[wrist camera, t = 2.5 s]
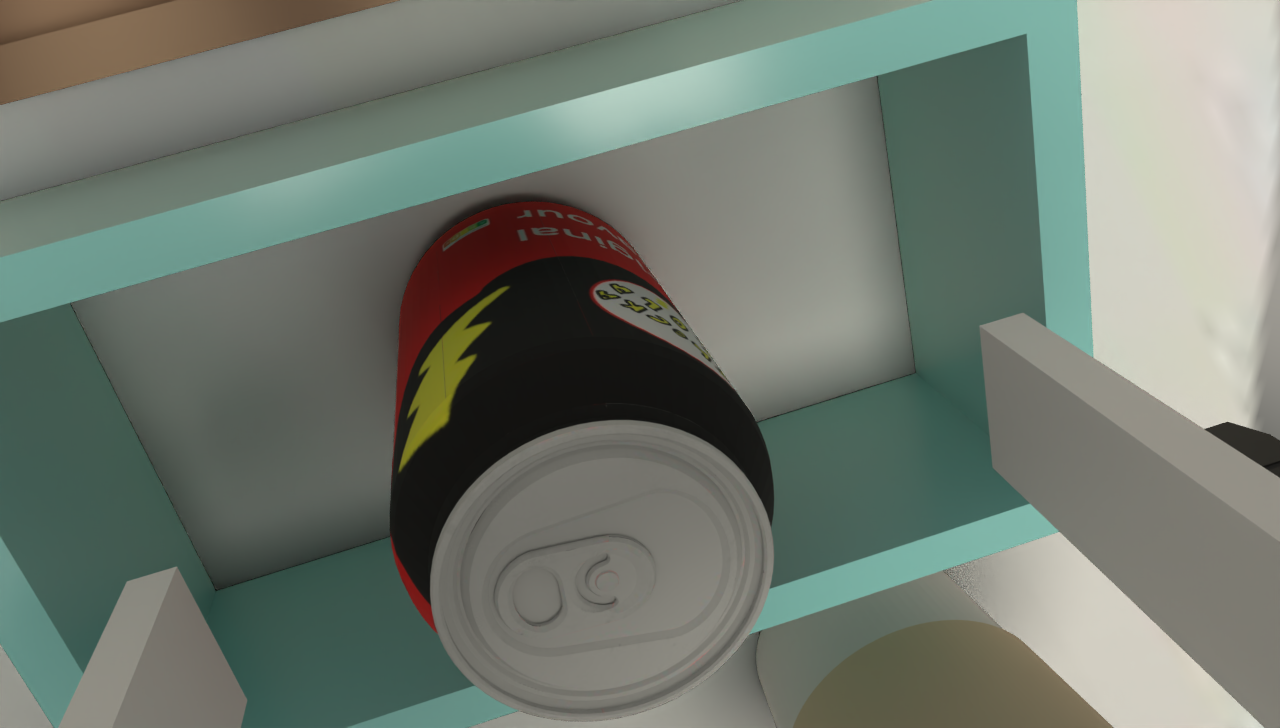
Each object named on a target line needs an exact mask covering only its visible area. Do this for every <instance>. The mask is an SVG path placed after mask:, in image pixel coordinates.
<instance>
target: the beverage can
mask: <svg viewBox="0 0 1280 728" xmlns="http://www.w3.org/2000/svg"><path fill="white" fill-rule="evenodd" d="M773 514H774V483H773V475H772V469H771V463H770V457H769V454H768V450H767V447H766V443H765V441H764V438H763V436H762V433H761V431H760V428H759V426H758V425H757V423H756V421H755V419H754V417H753V415H752V414H751V412H750V411H749V409H748V408H747V406H746V405H745V404H744V402H743V401H742V399H741V398H740V397H739V395H738V394H737V392H736V391H735V390H734V388H733V387H732V385H731V384H730V383H729V381H728V380H727V378H726V377H725V376H724V374H723V373H722V371H721V370H720V369H719V367H718V366H717V364H716V363H715V362H714V360H713V359H712V357H711V356H710V355H709V353H708V352H707V350H706V349H705V348H704V346H703V345H702V343H701V342H700V341H699V339H698V338H697V336H696V335H695V334H694V332H693V331H692V329H691V328H690V327H689V325H688V324H687V322H686V321H685V320H684V318H683V317H682V315H681V314H680V313H679V311H678V310H677V308H676V307H675V306H674V304H673V303H672V301H671V300H670V299H669V297H668V296H667V294H666V293H665V292H664V290H663V289H662V287H661V286H660V285H659V283H658V282H657V280H656V279H655V278H654V276H653V275H652V273H651V272H650V271H649V269H648V268H647V266H646V265H645V264H644V262H643V261H642V259H641V258H640V257H639V255H638V254H637V252H636V251H635V250H634V248H633V247H632V246H631V245H630V244H629V243H628V241H627V240H626V239H625V238H624V237H623V236H621V235H620V234H619V233H618V232H617V231H616V230H615V229H613V228H612V227H611V226H609V225H608V224H607V223H605V222H603V221H602V220H600V219H598V218H597V217H595V216H593V215H590V214H588V213H586V212H584V211H581V210H578V209H576V208H573V207H569V206H565V205H561V204H556V203H549V202H517V203H511V204H505V205H501V206H497V207H493V208H490V209H487V210H484V211H481V212H479V213H477V214H475V215H473V216H470V217H468V218H467V219H465V220H463V221H462V222H460V223H458V224H457V225H455V226H454V227H452V228H451V229H450V230H448V231H447V232H446V233H445V234H443V235H442V236H441V237H440V238H439V239H438V240H437V241H436V242H435V243H434V244H433V245H432V246H431V247H430V248H429V249H428V251H427V252H426V253H425V255H424V256H423V257H422V259H421V260H420V261H419V263H418V265H417V266H416V268H415V270H414V271H413V273H412V275H411V278H410V280H409V282H408V284H407V287H406V290H405V293H404V296H403V301H402V305H401V311H400V319H399V338H398V359H397V379H396V399H395V419H394V440H393V460H392V480H391V501H390V536H391V545H392V550H393V555H394V559H395V563H396V566H397V569H398V571H399V574H400V577H401V580H402V582H403V584H404V586H405V588H406V590H407V592H408V594H409V596H410V598H411V600H412V602H413V603H414V605H415V606H416V608H417V610H418V611H419V613H420V614H421V616H422V617H423V618H424V619H425V621H426V622H427V623H428V624H429V625H430V627H431V628H432V629H433V630H434V631H435V632H436V633H437V634H438V635H439V638H440V640H441V642H442V644H443V646H444V648H445V650H446V652H447V654H448V655H449V657H450V658H451V660H452V661H453V663H454V664H455V665H456V666H457V668H458V669H459V670H460V671H461V672H462V674H463V675H464V676H465V677H466V678H467V679H468V680H469V681H471V682H472V683H473V684H474V685H475V686H476V687H478V688H479V689H480V690H481V691H483V692H484V693H485V694H487V695H489V696H490V697H492V698H494V699H495V700H497V701H499V702H501V703H503V704H505V705H507V706H509V707H511V708H513V709H516V710H519V711H521V712H524V713H527V714H531V715H535V716H538V717H543V718H548V719H554V720H563V721H601V720H608V719H615V718H621V717H625V716H630V715H634V714H637V713H641V712H644V711H647V710H650V709H653V708H655V707H658V706H660V705H663V704H665V703H667V702H669V701H671V700H673V699H676V698H678V697H679V696H681V695H683V694H685V693H686V692H688V691H690V690H692V689H693V688H695V687H696V686H697V685H699V684H700V683H702V682H703V681H705V680H706V679H707V678H709V677H710V676H711V675H712V674H713V673H715V672H716V671H717V670H718V669H719V668H720V667H721V666H722V665H723V664H725V663H726V662H727V661H728V660H729V659H730V657H731V656H732V655H733V654H734V653H735V652H736V651H737V650H738V649H739V647H740V646H741V645H742V643H743V642H744V641H745V639H746V638H747V637H748V635H749V633H750V632H751V630H752V628H753V627H754V625H755V624H756V622H757V620H758V618H759V616H760V614H761V612H762V609H763V607H764V604H765V601H766V599H767V596H768V592H769V589H770V585H771V580H772V574H773V565H774V545H773V537H772V531H771V527H772V521H773Z"/></svg>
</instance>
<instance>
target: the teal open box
mask: <svg viewBox="0 0 1280 728" xmlns="http://www.w3.org/2000/svg"><path fill="white" fill-rule="evenodd" d="M874 76H878V84H879V92H880V99H881V107H882V115H883V122H884V130H885V138H886V145H887V153H888V161H889V169H890V176H891V184H892V192H893V199H894V207H895V215H896V222H897V230H898V238H899V246H900V253H901V261H902V269H903V276H904V284H905V292H906V299H907V307H908V315H909V323H910V330H911V338H912V346H913V353H914V361H915V369H916V373H915V374H912V375H909V376H905V377H902V378H899V379H896V380H892V381H889V382H886V383H883V384H880V385H876V386H873V387H870V388H867V389H864V390H860V391H857V392H854V393H851V394H847V395H844V396H841V397H838V398H835V399H831V400H828V401H825V402H822V403H819V404H815V405H812V406H809V407H806V408H802V409H799V410H796V411H793V412H790V413H786V414H783V415H780V416H777V417H774V418H770V419H767V420H764V421H761V422H758V423H757V425H758V426H759V428H760V431H761V433H762V436H763V438H764V441H765V443H766V447H767V450H768V454H769V457H770V463H771V469H772V475H773V483H774V514H773V521H772V527H771V531H772V537H773V545H774V565H773V574H772V580H771V585H770V589H769V592H768V596H767V599H766V601H765V604H764V607H763V609H762V612H761V614H760V616H759V618H758V620H757V622H756V624H755V625H754V627H753V628H752V630H751V632H750V633H749V634H752V633H755V632H758V631H761V630H764V629H767V628H770V627H773V626H776V625H779V624H782V623H785V622H788V621H791V620H794V619H797V618H800V617H803V616H806V615H809V614H813V613H816V612H819V611H822V610H825V609H828V608H831V607H834V606H837V605H840V604H843V603H846V602H849V601H852V600H855V599H858V598H861V597H864V596H867V595H870V594H873V593H876V592H879V591H882V590H885V589H888V588H891V587H894V586H897V585H900V584H903V583H906V582H909V581H912V580H915V579H918V578H921V577H924V576H927V575H930V574H933V573H936V572H939V571H942V570H945V569H948V568H951V567H954V566H957V565H960V564H963V563H967V562H970V561H973V560H976V559H979V558H982V557H985V556H988V555H991V554H994V553H997V552H1000V551H1003V550H1006V549H1009V548H1012V547H1015V546H1018V545H1021V544H1024V543H1027V542H1030V541H1033V540H1036V539H1039V538H1042V537H1045V536H1048V535H1051V534H1054V533H1057V532H1059V531H1058V530H1057V529H1056V528H1055V527H1054V526H1053V525H1052V524H1051V523H1050V522H1049V521H1048V520H1047V519H1046V518H1045V517H1044V516H1043V515H1042V514H1041V513H1039V512H1038V511H1037V510H1036V509H1035V508H1034V507H1033V506H1032V505H1031V504H1030V503H1029V502H1028V501H1027V500H1026V499H1025V498H1024V497H1023V496H1022V495H1021V494H1020V493H1019V492H1017V491H1016V490H1015V489H1014V488H1013V487H1012V486H1011V485H1010V484H1009V483H1008V482H1007V481H1006V480H1005V479H1004V478H1003V477H1002V476H1001V475H1000V474H999V473H998V472H997V471H996V470H994V469H993V466H992V455H991V445H990V434H989V424H988V413H987V402H986V392H985V381H984V370H983V360H982V349H981V339H980V328H979V326H980V325H984V324H987V323H990V322H994V321H997V320H1000V319H1004V318H1007V317H1010V316H1014V315H1017V314H1020V313H1024V314H1026V315H1028V316H1029V317H1031V318H1032V319H1034V320H1035V321H1037V322H1038V323H1040V324H1042V325H1043V326H1045V327H1046V328H1048V329H1049V330H1051V331H1052V332H1054V333H1056V334H1057V335H1059V336H1060V337H1062V338H1063V339H1065V340H1066V341H1068V342H1069V343H1071V344H1073V345H1074V346H1076V347H1077V348H1079V349H1080V350H1082V351H1083V352H1085V353H1087V354H1088V355H1090V356H1091V357H1093V338H1092V317H1091V295H1090V274H1089V253H1088V231H1087V210H1086V188H1085V167H1084V146H1083V124H1082V103H1081V81H1080V60H1079V39H1078V17H1077V0H743V1H739V2H735V3H731V4H728V5H724V6H720V7H717V8H713V9H709V10H706V11H702V12H698V13H694V14H691V15H687V16H683V17H680V18H676V19H672V20H669V21H665V22H661V23H658V24H654V25H650V26H646V27H643V28H639V29H635V30H632V31H628V32H624V33H621V34H617V35H613V36H610V37H606V38H602V39H598V40H595V41H591V42H587V43H584V44H580V45H576V46H573V47H569V48H565V49H562V50H558V51H554V52H550V53H547V54H543V55H539V56H536V57H532V58H528V59H525V60H521V61H517V62H513V63H510V64H506V65H502V66H499V67H495V68H491V69H488V70H484V71H480V72H477V73H473V74H469V75H465V76H462V77H458V78H454V79H451V80H447V81H443V82H440V83H436V84H432V85H429V86H425V87H421V88H417V89H414V90H410V91H406V92H403V93H399V94H395V95H392V96H388V97H384V98H381V99H377V100H373V101H369V102H366V103H362V104H358V105H355V106H351V107H347V108H344V109H340V110H336V111H332V112H329V113H325V114H321V115H318V116H314V117H310V118H307V119H303V120H299V121H296V122H292V123H288V124H284V125H281V126H277V127H273V128H270V129H266V130H262V131H259V132H255V133H251V134H248V135H244V136H240V137H236V138H233V139H229V140H225V141H222V142H218V143H214V144H211V145H207V146H203V147H200V148H196V149H192V150H188V151H185V152H181V153H177V154H174V155H170V156H166V157H163V158H159V159H155V160H151V161H148V162H144V163H140V164H137V165H133V166H129V167H126V168H122V169H118V170H115V171H111V172H107V173H103V174H100V175H96V176H92V177H89V178H85V179H81V180H78V181H74V182H70V183H67V184H63V185H59V186H55V187H52V188H48V189H44V190H41V191H37V192H33V193H30V194H26V195H22V196H19V197H15V198H11V199H7V200H4V201H0V644H1V646H2V647H3V649H4V650H5V652H6V654H7V655H8V657H9V658H10V660H11V661H12V663H13V665H14V666H15V668H16V669H17V671H18V672H19V674H20V676H21V677H22V679H23V680H24V682H25V683H26V685H27V687H28V688H29V690H30V691H31V693H32V694H33V696H34V697H35V699H36V701H37V702H38V704H39V705H40V707H41V708H42V710H43V712H44V713H45V715H46V716H47V718H48V719H49V721H50V723H51V724H52V726H53V727H54V728H58V727H59V725H60V723H61V721H62V718H63V716H64V714H65V712H66V710H67V708H68V706H69V704H70V701H71V699H72V697H73V695H74V693H75V691H76V689H77V687H78V684H79V682H80V680H81V678H82V676H83V674H84V672H85V670H86V667H87V665H88V663H89V661H90V659H91V657H92V655H93V653H94V650H95V648H96V646H97V644H98V642H99V640H100V638H101V635H102V633H103V631H104V629H105V627H106V625H107V623H108V621H109V618H110V616H111V614H112V612H113V610H114V608H115V606H116V604H117V601H118V599H119V597H120V595H121V593H122V591H123V589H124V587H125V584H126V582H127V581H130V580H133V579H137V578H140V577H143V576H147V575H150V574H153V573H157V572H160V571H163V570H167V569H170V568H173V567H178V569H179V571H180V573H181V575H182V577H183V579H184V581H185V583H186V585H187V586H188V588H189V590H190V592H191V594H192V596H193V598H194V600H195V602H196V604H197V605H198V607H199V609H200V611H201V613H202V615H203V617H204V619H205V621H206V623H207V624H208V626H209V628H210V630H211V632H212V634H213V636H214V638H215V640H216V641H217V643H218V645H219V647H220V649H221V651H222V653H223V655H224V657H225V659H226V660H227V662H228V664H229V666H230V668H231V670H232V672H233V674H234V676H235V678H236V679H237V681H238V683H239V685H240V687H241V689H242V691H243V693H244V695H245V697H246V698H247V704H246V708H245V712H244V716H243V721H242V725H241V728H468V727H471V726H474V725H477V724H480V723H483V722H486V721H489V720H492V719H495V718H498V717H501V716H504V715H508V714H511V713H514V712H517V711H519V710H516V709H513V708H511V707H509V706H507V705H505V704H503V703H501V702H499V701H497V700H495V699H494V698H492V697H490V696H489V695H487V694H485V693H484V692H483V691H481V690H480V689H479V688H478V687H476V686H475V685H474V684H473V683H472V682H471V681H469V680H468V679H467V678H466V677H465V676H464V675H463V674H462V672H461V671H460V670H459V669H458V668H457V666H456V665H455V664H454V663H453V661H452V660H451V658H450V657H449V655H448V654H447V652H446V650H445V648H444V646H443V644H442V642H441V640H440V638H439V635H438V634H437V633H436V632H435V631H434V630H433V629H432V628H431V627H430V625H429V624H428V623H427V622H426V621H425V619H424V618H423V617H422V616H421V614H420V613H419V611H418V610H417V608H416V606H415V605H414V603H413V602H412V600H411V598H410V596H409V594H408V592H407V590H406V588H405V586H404V584H403V582H402V580H401V577H400V574H399V571H398V569H397V566H396V563H395V559H394V555H393V550H392V545H391V537H388V538H385V539H382V540H378V541H375V542H372V543H369V544H366V545H362V546H359V547H356V548H353V549H349V550H346V551H343V552H340V553H337V554H333V555H330V556H327V557H324V558H321V559H317V560H314V561H311V562H308V563H305V564H301V565H298V566H295V567H292V568H288V569H285V570H282V571H279V572H276V573H272V574H269V575H266V576H263V577H260V578H256V579H253V580H250V581H247V582H243V583H240V584H237V585H234V586H231V587H227V588H224V589H221V590H218V591H216V590H215V588H214V586H213V584H212V582H211V580H210V578H209V576H208V574H207V572H206V570H205V568H204V566H203V565H202V563H201V561H200V559H199V557H198V555H197V553H196V551H195V549H194V547H193V545H192V543H191V541H190V539H189V537H188V535H187V533H186V531H185V529H184V527H183V525H182V523H181V521H180V519H179V517H178V515H177V513H176V511H175V509H174V507H173V505H172V504H171V502H170V500H169V498H168V496H167V494H166V492H165V490H164V488H163V486H162V484H161V482H160V480H159V478H158V476H157V474H156V472H155V470H154V468H153V466H152V464H151V462H150V460H149V458H148V456H147V454H146V452H145V450H144V448H143V446H142V445H141V443H140V441H139V439H138V437H137V435H136V433H135V431H134V429H133V427H132V425H131V423H130V421H129V419H128V417H127V415H126V413H125V411H124V409H123V407H122V405H121V403H120V401H119V399H118V397H117V395H116V393H115V391H114V389H113V387H112V385H111V384H110V382H109V380H108V378H107V376H106V374H105V372H104V370H103V368H102V366H101V364H100V362H99V360H98V358H97V356H96V354H95V352H94V350H93V348H92V346H91V344H90V342H89V340H88V338H87V336H86V334H85V332H84V330H83V328H82V326H81V325H80V323H79V321H78V319H77V317H76V315H75V313H74V311H73V309H72V307H71V305H70V303H71V302H75V301H78V300H82V299H85V298H89V297H92V296H96V295H99V294H103V293H107V292H110V291H114V290H117V289H121V288H124V287H128V286H131V285H135V284H139V283H142V282H146V281H149V280H153V279H156V278H160V277H163V276H167V275H171V274H174V273H178V272H181V271H185V270H188V269H192V268H195V267H199V266H202V265H206V264H210V263H213V262H217V261H220V260H224V259H227V258H231V257H234V256H238V255H242V254H245V253H249V252H252V251H256V250H259V249H263V248H266V247H270V246H274V245H277V244H281V243H284V242H288V241H291V240H295V239H298V238H302V237H306V236H309V235H313V234H316V233H320V232H323V231H327V230H330V229H334V228H338V227H341V226H345V225H348V224H352V223H355V222H359V221H362V220H366V219H369V218H373V217H377V216H380V215H384V214H387V213H391V212H394V211H398V210H401V209H405V208H409V207H412V206H416V205H419V204H423V203H426V202H430V201H433V200H437V199H441V198H444V197H448V196H451V195H455V194H458V193H462V192H465V191H469V190H473V189H476V188H480V187H483V186H487V185H490V184H494V183H497V182H501V181H504V180H508V179H512V178H515V177H519V176H522V175H526V174H529V173H533V172H536V171H540V170H544V169H547V168H551V167H554V166H558V165H561V164H565V163H568V162H572V161H576V160H579V159H583V158H586V157H590V156H593V155H597V154H600V153H604V152H608V151H611V150H615V149H618V148H622V147H625V146H629V145H632V144H636V143H640V142H643V141H647V140H650V139H654V138H657V137H661V136H664V135H668V134H671V133H675V132H679V131H682V130H686V129H689V128H693V127H696V126H700V125H703V124H707V123H711V122H714V121H718V120H721V119H725V118H728V117H732V116H735V115H739V114H743V113H746V112H750V111H753V110H757V109H760V108H764V107H767V106H771V105H775V104H778V103H782V102H785V101H789V100H792V99H796V98H799V97H803V96H806V95H810V94H814V93H817V92H821V91H824V90H828V89H831V88H835V87H838V86H842V85H846V84H849V83H853V82H856V81H860V80H863V79H867V78H870V77H874Z"/></svg>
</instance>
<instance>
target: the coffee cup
mask: <svg viewBox="0 0 1280 728" xmlns="http://www.w3.org/2000/svg"><path fill="white" fill-rule="evenodd" d="M756 666H757V672H758V676H759V679H760V682H761V685H762V688H763V691H764V693H765V696H766V699H767V702H768V705H769V708H770V710H771V713H772V716H773V719H774V722H775V725H776V727H777V728H1113V727H1112V726H1111V725H1110V724H1109V723H1108V722H1107V721H1106V720H1105V719H1104V718H1103V717H1102V716H1101V715H1100V714H1099V713H1098V712H1097V711H1096V710H1094V709H1093V708H1092V707H1091V706H1090V705H1089V704H1088V703H1087V702H1086V701H1085V700H1084V699H1083V698H1082V697H1081V696H1080V695H1079V694H1078V693H1077V692H1075V691H1074V690H1073V689H1072V688H1071V687H1070V686H1069V685H1068V684H1067V683H1066V682H1065V681H1064V680H1063V679H1062V678H1061V677H1060V676H1059V675H1058V674H1057V673H1055V672H1054V671H1053V670H1052V669H1051V668H1050V667H1049V666H1048V665H1047V664H1046V663H1045V662H1044V661H1043V660H1042V659H1041V658H1040V657H1039V656H1038V655H1036V654H1035V653H1034V652H1033V651H1032V650H1031V649H1030V648H1029V647H1028V646H1027V645H1026V644H1025V643H1024V642H1023V641H1021V640H1020V639H1019V638H1017V637H1016V636H1014V635H1013V634H1011V633H1009V632H1007V631H1005V630H1003V629H1002V628H1001V627H1000V626H999V625H998V624H997V623H996V622H995V621H994V620H993V619H992V618H991V617H990V616H989V615H988V614H987V613H986V612H985V611H984V610H983V609H982V608H981V607H980V606H979V605H978V604H977V603H976V602H975V601H974V600H973V599H972V598H971V597H970V596H969V595H967V594H966V593H965V592H964V591H963V590H962V589H961V588H960V587H959V586H958V585H957V584H956V583H955V582H954V581H953V580H952V579H951V578H950V577H949V576H948V575H947V574H946V573H945V572H944V571H943V570H942V571H939V572H936V573H933V574H930V575H927V576H924V577H921V578H918V579H915V580H912V581H909V582H906V583H903V584H900V585H897V586H894V587H891V588H888V589H885V590H882V591H879V592H876V593H873V594H870V595H867V596H864V597H861V598H858V599H855V600H852V601H849V602H846V603H843V604H840V605H837V606H834V607H831V608H828V609H825V610H822V611H819V612H816V613H813V614H809V615H806V616H803V617H800V618H797V619H794V620H791V621H788V622H785V623H782V624H779V625H776V626H773V627H770V628H767V629H764V630H761V632H760V635H759V639H758V643H757V650H756Z"/></svg>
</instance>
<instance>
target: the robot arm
mask: <svg viewBox="0 0 1280 728" xmlns="http://www.w3.org/2000/svg"><path fill="white" fill-rule="evenodd" d="M979 328H980V339H981V349H982V360H983V370H984V381H985V392H986V402H987V413H988V424H989V434H990V445H991V455H992V466H993V469H994V470H996V471H997V472H998V473H999V474H1000V475H1001V476H1002V477H1003V478H1004V479H1005V480H1006V481H1007V482H1008V483H1009V484H1010V485H1011V486H1012V487H1013V488H1014V489H1015V490H1016V491H1017V492H1019V493H1020V494H1021V495H1022V496H1023V497H1024V498H1025V499H1026V500H1027V501H1028V502H1029V503H1030V504H1031V505H1032V506H1033V507H1034V508H1035V509H1036V510H1037V511H1038V512H1039V513H1041V514H1042V515H1043V516H1044V517H1045V518H1046V519H1047V520H1048V521H1049V522H1050V523H1051V524H1052V525H1053V526H1054V527H1055V528H1056V529H1057V530H1058V531H1059V532H1060V533H1061V534H1062V535H1064V536H1065V537H1066V538H1067V539H1068V540H1069V541H1070V542H1071V543H1072V544H1073V545H1074V546H1075V547H1076V548H1077V549H1078V550H1079V551H1080V552H1081V553H1082V554H1083V555H1084V556H1086V557H1087V558H1088V559H1089V560H1090V561H1091V562H1092V563H1093V564H1094V565H1095V566H1096V567H1097V568H1098V569H1099V570H1100V571H1101V572H1102V573H1103V574H1104V575H1105V576H1106V577H1107V578H1109V579H1110V580H1111V581H1112V582H1113V583H1114V584H1115V585H1116V586H1117V587H1118V588H1119V589H1120V590H1121V591H1122V592H1123V593H1124V594H1125V595H1126V596H1127V597H1128V598H1129V599H1131V600H1132V601H1133V602H1134V603H1135V604H1136V605H1137V606H1138V607H1139V608H1140V609H1141V610H1142V611H1143V612H1144V613H1145V614H1146V615H1147V616H1148V617H1149V618H1150V619H1151V620H1152V621H1154V622H1155V623H1156V624H1157V625H1158V626H1159V627H1160V628H1161V629H1162V630H1163V631H1164V632H1165V633H1166V634H1167V635H1168V636H1169V637H1170V638H1171V639H1172V640H1173V641H1174V642H1176V643H1177V644H1178V645H1179V646H1180V647H1181V648H1182V649H1183V650H1184V651H1185V652H1186V653H1187V654H1188V655H1189V656H1190V657H1191V658H1192V659H1193V660H1194V661H1195V662H1196V663H1197V664H1199V665H1200V666H1201V667H1202V668H1203V669H1204V670H1205V671H1206V672H1207V673H1208V674H1209V675H1210V676H1211V677H1212V678H1213V679H1214V680H1215V681H1216V682H1217V683H1218V684H1219V685H1221V686H1222V687H1223V688H1224V689H1225V690H1226V691H1227V692H1228V693H1229V694H1230V695H1231V696H1232V697H1233V698H1234V699H1235V700H1236V701H1237V702H1238V703H1239V704H1240V705H1241V706H1242V707H1244V708H1245V709H1246V710H1247V711H1248V712H1249V713H1250V714H1251V715H1252V716H1253V717H1254V718H1255V719H1256V720H1257V721H1258V722H1259V723H1260V724H1261V725H1262V726H1263V727H1264V728H1280V440H1278V439H1276V438H1275V437H1273V436H1271V435H1270V434H1266V433H1263V432H1260V431H1256V430H1253V429H1250V428H1246V427H1243V426H1240V425H1236V424H1233V423H1230V422H1226V423H1222V424H1219V425H1216V426H1213V427H1210V428H1206V429H1203V428H1202V427H1200V426H1198V425H1197V424H1195V423H1194V422H1192V421H1191V420H1189V419H1188V418H1186V417H1184V416H1183V415H1181V414H1180V413H1178V412H1177V411H1175V410H1174V409H1172V408H1170V407H1169V406H1167V405H1166V404H1164V403H1163V402H1161V401H1160V400H1158V399H1156V398H1155V397H1153V396H1152V395H1150V394H1149V393H1147V392H1146V391H1144V390H1142V389H1141V388H1139V387H1138V386H1136V385H1135V384H1133V383H1132V382H1130V381H1129V380H1127V379H1125V378H1124V377H1122V376H1121V375H1119V374H1118V373H1116V372H1115V371H1113V370H1111V369H1110V368H1108V367H1107V366H1105V365H1104V364H1102V363H1101V362H1099V361H1097V360H1096V359H1094V358H1093V357H1091V356H1090V355H1088V354H1087V353H1085V352H1083V351H1082V350H1080V349H1079V348H1077V347H1076V346H1074V345H1073V344H1071V343H1069V342H1068V341H1066V340H1065V339H1063V338H1062V337H1060V336H1059V335H1057V334H1056V333H1054V332H1052V331H1051V330H1049V329H1048V328H1046V327H1045V326H1043V325H1042V324H1040V323H1038V322H1037V321H1035V320H1034V319H1032V318H1031V317H1029V316H1028V315H1026V314H1024V313H1020V314H1017V315H1014V316H1010V317H1007V318H1004V319H1000V320H997V321H994V322H990V323H987V324H984V325H980V326H979ZM246 704H247V698H246V697H245V695H244V693H243V691H242V689H241V687H240V685H239V683H238V681H237V679H236V678H235V676H234V674H233V672H232V670H231V668H230V666H229V664H228V662H227V660H226V659H225V657H224V655H223V653H222V651H221V649H220V647H219V645H218V643H217V641H216V640H215V638H214V636H213V634H212V632H211V630H210V628H209V626H208V624H207V623H206V621H205V619H204V617H203V615H202V613H201V611H200V609H199V607H198V605H197V604H196V602H195V600H194V598H193V596H192V594H191V592H190V590H189V588H188V586H187V585H186V583H185V581H184V579H183V577H182V575H181V573H180V571H179V569H178V567H173V568H170V569H167V570H163V571H160V572H157V573H153V574H150V575H147V576H143V577H140V578H137V579H133V580H130V581H127V582H126V584H125V587H124V589H123V591H122V593H121V595H120V597H119V599H118V601H117V604H116V606H115V608H114V610H113V612H112V614H111V616H110V618H109V621H108V623H107V625H106V627H105V629H104V631H103V633H102V635H101V638H100V640H99V642H98V644H97V646H96V648H95V650H94V653H93V655H92V657H91V659H90V661H89V663H88V665H87V667H86V670H85V672H84V674H83V676H82V678H81V680H80V682H79V684H78V687H77V689H76V691H75V693H74V695H73V697H72V699H71V701H70V704H69V706H68V708H67V710H66V712H65V714H64V716H63V718H62V721H61V723H60V725H59V727H58V728H241V725H242V721H243V716H244V712H245V708H246Z"/></svg>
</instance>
